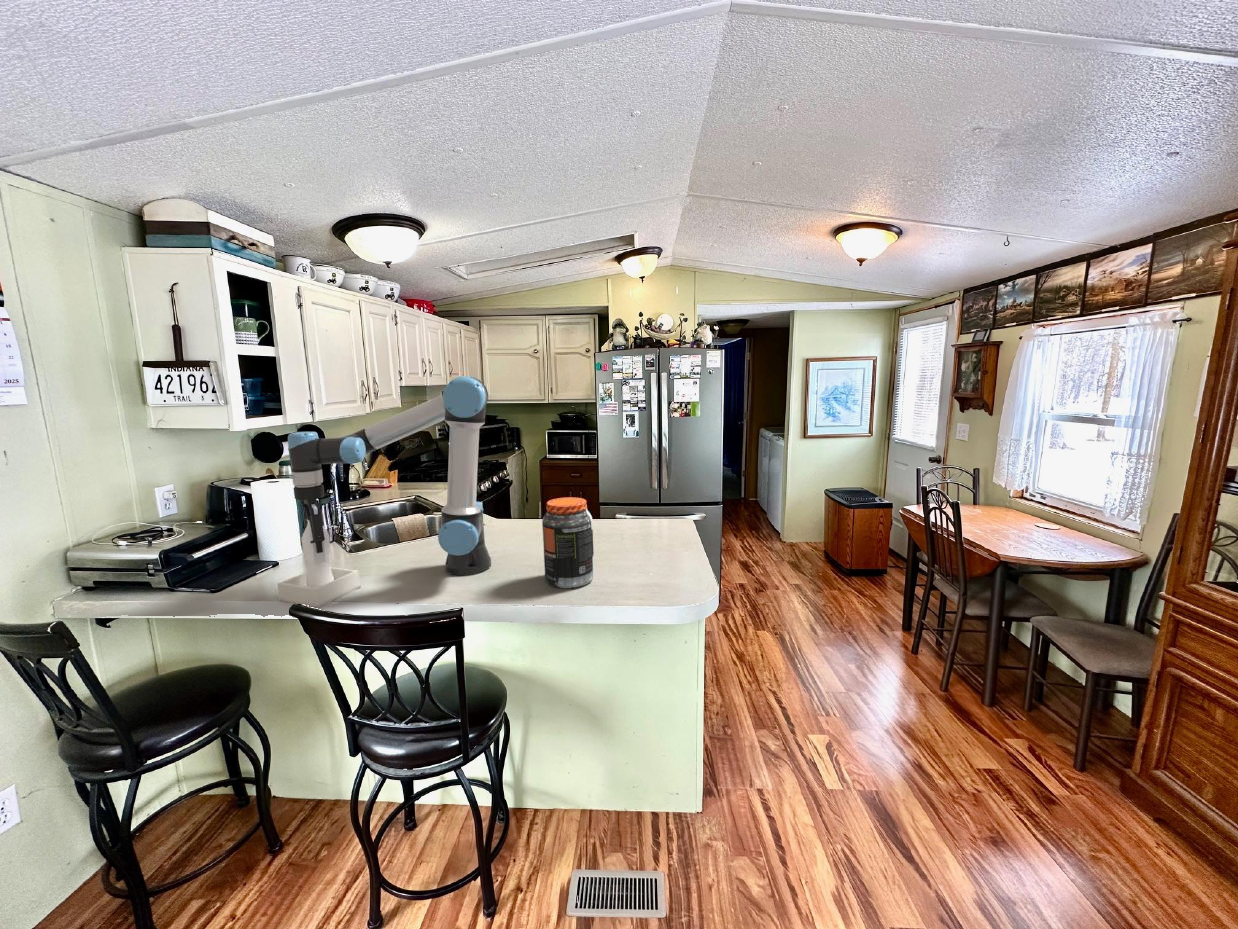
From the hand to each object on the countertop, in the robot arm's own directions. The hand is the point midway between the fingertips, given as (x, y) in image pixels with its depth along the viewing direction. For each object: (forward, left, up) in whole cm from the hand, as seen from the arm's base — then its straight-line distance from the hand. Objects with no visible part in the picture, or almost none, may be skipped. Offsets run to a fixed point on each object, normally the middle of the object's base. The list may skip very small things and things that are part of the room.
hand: (317, 558), depth 150 cm
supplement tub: (-68, -32, -11) cm, 76 cm away
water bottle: (0, 0, -11) cm, 11 cm away
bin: (0, 0, -11) cm, 11 cm away
